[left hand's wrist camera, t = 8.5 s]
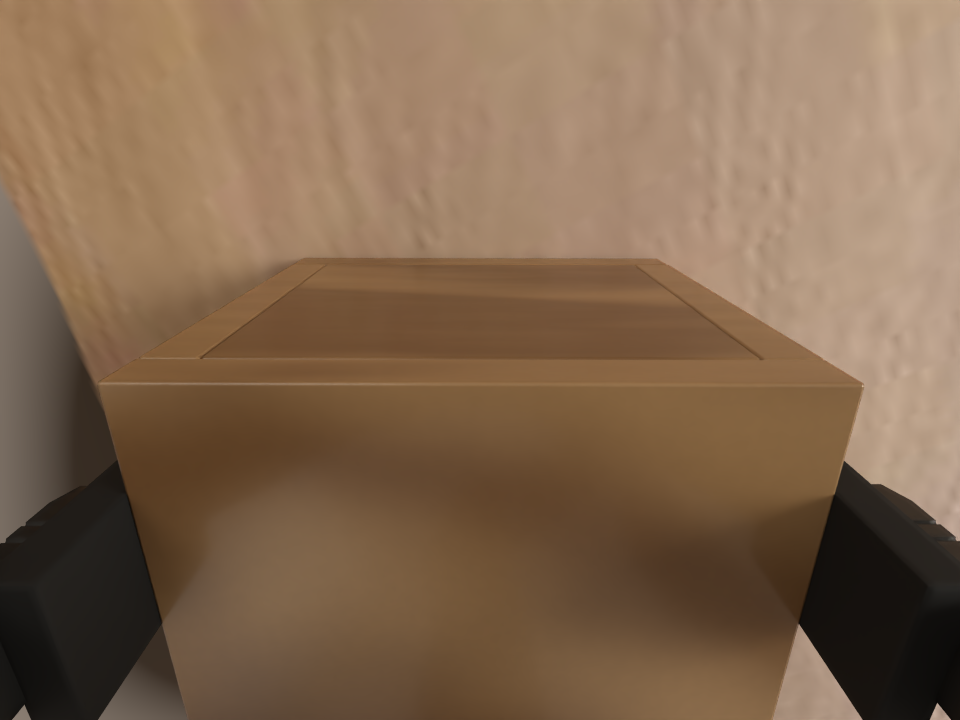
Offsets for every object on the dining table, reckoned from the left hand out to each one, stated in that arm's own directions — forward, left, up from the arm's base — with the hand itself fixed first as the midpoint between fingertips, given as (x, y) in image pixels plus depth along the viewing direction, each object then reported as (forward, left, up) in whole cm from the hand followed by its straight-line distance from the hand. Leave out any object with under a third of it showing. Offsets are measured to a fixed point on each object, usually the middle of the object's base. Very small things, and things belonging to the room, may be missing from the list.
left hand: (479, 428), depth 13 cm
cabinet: (+5, 0, -5) cm, 7 cm away
